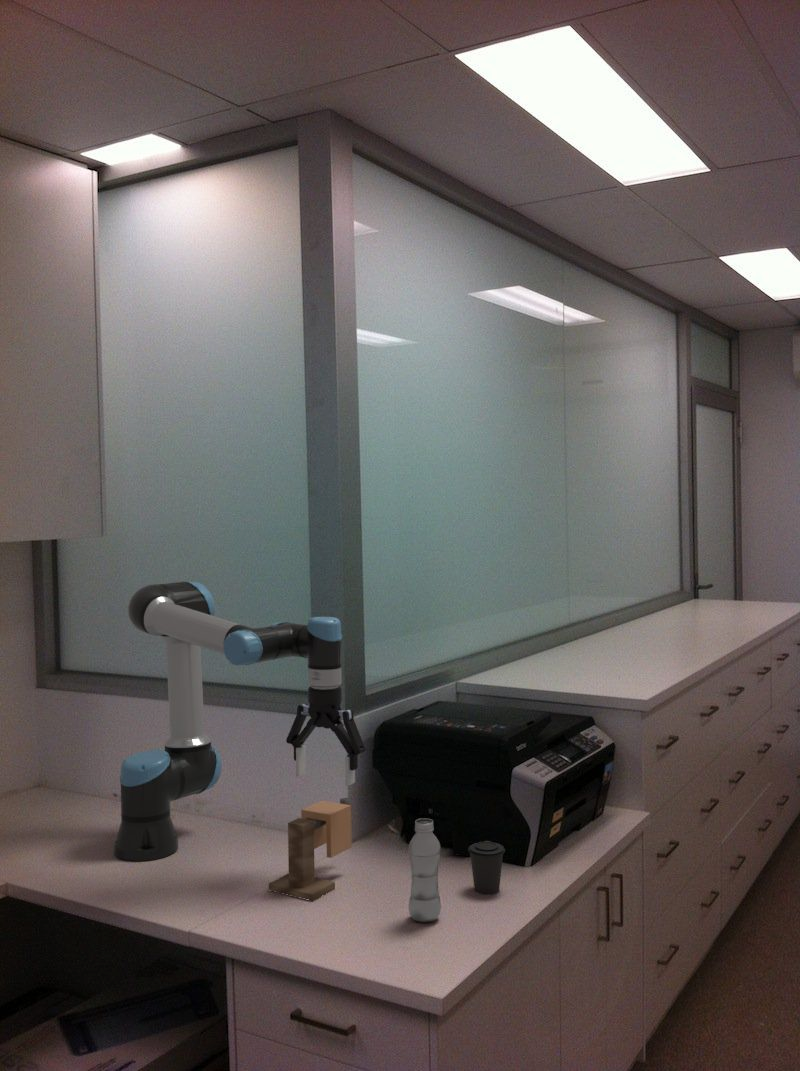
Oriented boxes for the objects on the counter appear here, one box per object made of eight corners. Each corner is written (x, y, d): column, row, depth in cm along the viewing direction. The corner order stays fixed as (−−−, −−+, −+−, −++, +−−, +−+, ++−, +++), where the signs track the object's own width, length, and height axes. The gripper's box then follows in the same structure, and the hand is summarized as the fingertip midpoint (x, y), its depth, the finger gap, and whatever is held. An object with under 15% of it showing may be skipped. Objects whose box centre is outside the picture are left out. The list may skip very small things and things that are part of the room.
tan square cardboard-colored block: (302, 852, 224) (301, 809, 223) (323, 841, 230) (322, 800, 230) (331, 857, 219) (330, 814, 219) (351, 847, 226) (350, 805, 226)
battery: (479, 848, 242) (479, 807, 242) (469, 857, 236) (469, 815, 236) (462, 846, 244) (462, 805, 244) (452, 855, 238) (452, 813, 237)
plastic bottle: (401, 919, 201) (400, 821, 200) (425, 909, 206) (424, 814, 205) (424, 929, 196) (423, 828, 196) (448, 918, 201) (447, 820, 200)
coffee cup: (495, 880, 221) (494, 836, 221) (512, 893, 214) (511, 847, 213) (462, 886, 218) (461, 841, 218) (478, 899, 211) (477, 852, 210)
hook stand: (268, 890, 217) (267, 820, 216) (327, 859, 236) (327, 794, 235) (313, 901, 210) (312, 829, 210) (370, 868, 229) (369, 801, 229)
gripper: (270, 683, 227) (271, 775, 228) (361, 694, 214) (362, 792, 215) (290, 678, 234) (291, 768, 234) (380, 688, 221) (380, 783, 221)
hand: (325, 779), depth 225 cm, fingers open, 13 cm apart
